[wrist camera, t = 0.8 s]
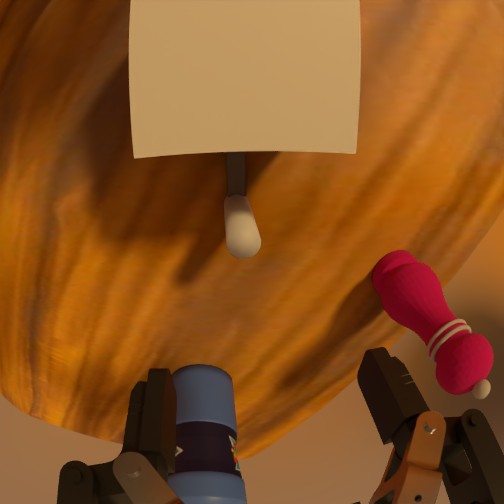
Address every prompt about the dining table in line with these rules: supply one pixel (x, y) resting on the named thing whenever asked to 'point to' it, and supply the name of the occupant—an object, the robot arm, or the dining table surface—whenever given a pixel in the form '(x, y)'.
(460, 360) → the pepper mill
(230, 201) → the grey block with handle
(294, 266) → the dining table surface
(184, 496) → the water bottle
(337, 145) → the shelf
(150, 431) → the robot arm
